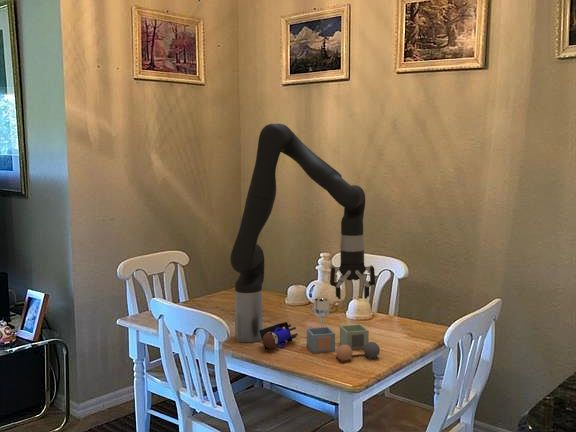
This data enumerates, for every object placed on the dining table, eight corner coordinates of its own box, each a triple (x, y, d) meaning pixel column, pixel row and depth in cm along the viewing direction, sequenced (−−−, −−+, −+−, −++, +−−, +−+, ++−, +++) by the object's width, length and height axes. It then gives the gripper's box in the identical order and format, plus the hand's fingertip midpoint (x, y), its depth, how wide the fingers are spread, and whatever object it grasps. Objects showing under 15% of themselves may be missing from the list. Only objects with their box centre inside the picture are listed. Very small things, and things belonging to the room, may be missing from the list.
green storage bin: (347, 350, 197) (347, 332, 196) (339, 343, 204) (339, 325, 204) (368, 348, 198) (368, 330, 198) (360, 341, 206) (360, 324, 205)
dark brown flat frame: (339, 363, 186) (339, 361, 186) (335, 358, 190) (335, 356, 190) (379, 359, 189) (379, 357, 188) (374, 354, 193) (374, 352, 193)
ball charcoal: (366, 361, 187) (367, 345, 186) (361, 355, 192) (361, 340, 191) (382, 359, 188) (382, 344, 187) (376, 354, 193) (376, 339, 192)
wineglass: (328, 335, 213) (328, 302, 211) (312, 334, 214) (311, 301, 212) (330, 330, 218) (330, 297, 217) (314, 329, 219) (314, 297, 218)
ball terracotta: (339, 363, 185) (339, 348, 184) (334, 358, 190) (334, 342, 189) (354, 362, 186) (354, 346, 185) (349, 356, 191) (349, 341, 190)
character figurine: (300, 344, 205) (270, 356, 194) (285, 338, 210) (254, 349, 199) (301, 322, 204) (270, 333, 193) (286, 316, 208) (254, 326, 197)
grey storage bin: (313, 353, 194) (312, 335, 193) (306, 345, 202) (306, 328, 201) (335, 351, 196) (335, 333, 195) (328, 344, 203) (328, 326, 203)
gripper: (330, 250, 188) (331, 301, 190) (376, 250, 188) (376, 300, 190) (328, 246, 196) (329, 295, 198) (372, 246, 196) (372, 295, 198)
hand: (352, 298), depth 194 cm, fingers open, 8 cm apart
